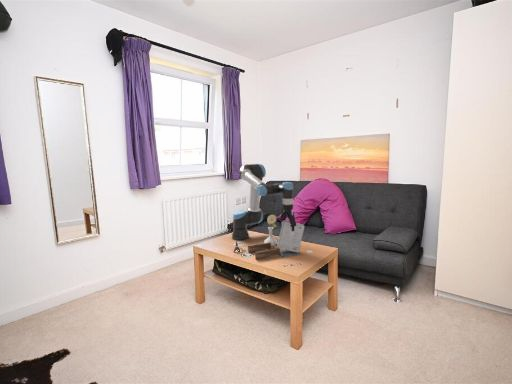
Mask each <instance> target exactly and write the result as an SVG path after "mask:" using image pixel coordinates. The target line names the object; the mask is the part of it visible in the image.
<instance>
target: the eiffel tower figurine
mask: <svg viewBox="0 0 512 384" xmlns="http://www.w3.org/2000/svg"><path fill="white" fill-rule="evenodd" d="M233 250H234V251H233V253H235V254H237V253H236V252H235V251H236V250H237V251H238V250H239V251H238V252H240V250H241V251H242V253H241V254H243V253H246V252H247V249H244V248H243V247H239V245H238V240H237V235H236V240H235V246H234V249H233Z"/></svg>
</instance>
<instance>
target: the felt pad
mask: <svg viewBox="0 0 512 384" xmlns="http://www.w3.org/2000/svg"><path fill="white" fill-rule="evenodd" d="M301 254H302V253H301V252H300V251H299V252H293V251H289V250H285V249H280V256H281V257H283V258H286V257H292V256H293V257H294V256H298V255H301Z"/></svg>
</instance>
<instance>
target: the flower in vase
mask: <svg viewBox="0 0 512 384" xmlns="http://www.w3.org/2000/svg"><path fill="white" fill-rule="evenodd" d="M266 219H267V220H266V221H267V224H268V225H269V226H268V227H267V229H268V233H269V234H268V237H267V238H266V239H264V241H263V243H270V242H271V243H272V244H274V245H275V246H276V245H277V244H278V240H277V239H276V238H275V237H274V236H273V229H274V228H277V227H278V226H277V224H276V222H277V216H276V214H275V215H274V214H270V215H268V216H267V218H266Z"/></svg>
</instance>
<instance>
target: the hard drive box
mask: <svg viewBox="0 0 512 384" xmlns="http://www.w3.org/2000/svg"><path fill="white" fill-rule="evenodd" d="M290 226H291V224H290V221H289V220H286V219H285V220H283V223H282V222H281V228H280V232H279V236H278V240H277V241H278V243H277V244H276V247H278V248H279V249H280V250H289V251H293V252H299V253H300V247H301V243H302V238H303V235H304V232H305V228H306V226H305V224H302V223H299V222H296V226H294V235H292V236H291V235H290Z"/></svg>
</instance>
